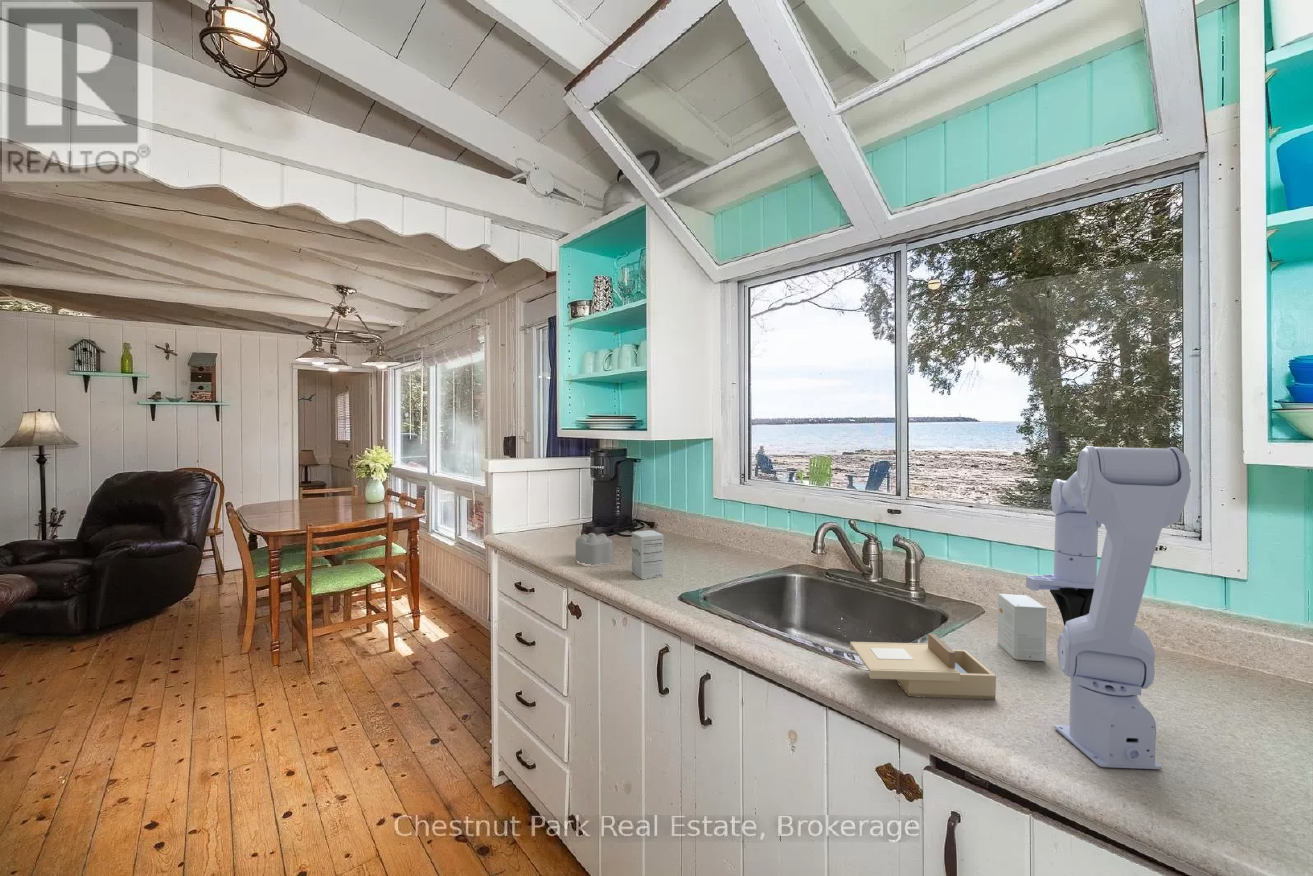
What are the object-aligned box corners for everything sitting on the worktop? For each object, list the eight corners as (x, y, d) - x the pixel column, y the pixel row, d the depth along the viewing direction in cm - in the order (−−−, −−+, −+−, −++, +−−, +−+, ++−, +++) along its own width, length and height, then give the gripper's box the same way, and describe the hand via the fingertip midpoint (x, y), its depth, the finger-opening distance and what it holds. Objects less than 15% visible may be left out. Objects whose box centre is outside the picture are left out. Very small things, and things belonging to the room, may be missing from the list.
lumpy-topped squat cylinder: (588, 568, 169) (588, 540, 168) (568, 559, 179) (568, 533, 179) (616, 563, 175) (616, 536, 175) (595, 554, 185) (595, 529, 185)
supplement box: (631, 573, 163) (630, 531, 162) (653, 570, 166) (653, 529, 165) (640, 580, 156) (640, 536, 156) (664, 577, 159) (664, 534, 159)
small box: (1046, 662, 104) (1047, 608, 103) (1013, 660, 105) (1015, 606, 104) (1026, 645, 112) (1028, 594, 111) (996, 643, 113) (997, 592, 112)
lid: (959, 681, 90) (960, 657, 90) (870, 678, 91) (870, 655, 91) (929, 651, 101) (929, 629, 101) (850, 649, 102) (850, 628, 102)
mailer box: (995, 699, 90) (995, 675, 90) (908, 697, 91) (908, 673, 91) (965, 671, 100) (965, 649, 100) (886, 669, 101) (887, 648, 101)
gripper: (1102, 547, 95) (1100, 624, 96) (1016, 546, 96) (1014, 622, 96) (1135, 557, 88) (1133, 640, 88) (1042, 556, 89) (1039, 638, 89)
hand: (1073, 632), depth 92 cm, fingers closed
